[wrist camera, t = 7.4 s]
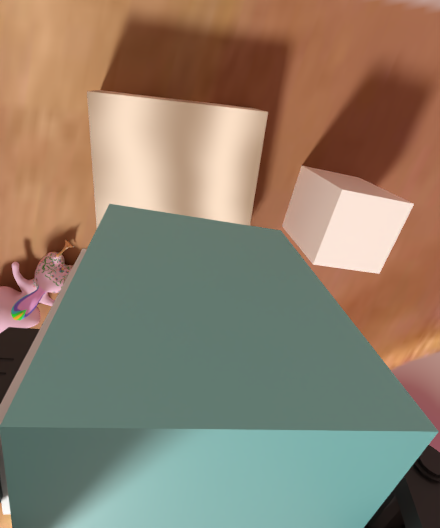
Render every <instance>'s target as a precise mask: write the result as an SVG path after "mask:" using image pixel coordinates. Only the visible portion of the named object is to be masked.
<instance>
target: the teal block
mask: <svg viewBox="0 0 440 528" xmlns="http://www.w3.org/2000/svg"><path fill="white" fill-rule="evenodd" d="M437 433H438V430H437V429H436V428H435V426H434V425H433V424H432V423H431V421H430V420H429V419H428V418H427V416H426V415H425V414H424V412H423V411H422V410H421V409H420V407H419V406H418V405H417V404H416V402H415V401H414V400H413V398H412V397H411V396H410V395H409V393H408V392H407V391H406V389H405V388H404V387H403V386H402V385H401V383H400V382H399V381H398V379H397V378H396V377H395V376H394V374H393V373H392V372H391V370H390V369H389V368H388V367H387V365H386V364H385V363H384V361H383V360H382V359H381V358H380V356H379V355H378V354H377V353H376V351H375V350H374V349H373V347H372V346H371V345H370V344H369V342H368V341H367V340H366V339H365V337H364V336H363V335H362V333H361V332H360V331H359V330H358V328H357V327H356V326H355V324H354V323H353V322H352V321H351V319H350V318H349V317H348V316H347V314H346V313H345V312H344V310H343V309H342V308H341V307H340V305H339V304H338V303H337V302H336V300H335V299H334V298H333V296H332V295H331V294H330V293H329V291H328V290H327V289H326V288H325V286H324V285H323V284H322V282H321V281H320V280H319V279H318V277H317V276H316V275H315V274H314V272H313V271H312V270H311V268H310V267H309V266H308V265H307V263H306V262H305V261H304V259H303V258H302V257H301V256H300V254H299V253H298V252H297V251H296V249H295V248H294V247H293V245H292V244H291V243H290V242H289V240H288V239H287V238H286V237H285V235H284V234H283V233H282V231H281V230H274V229H268V228H262V227H255V226H249V225H242V224H236V223H230V222H223V221H217V220H211V219H204V218H198V217H191V216H185V215H179V214H172V213H166V212H160V211H153V210H147V209H140V208H134V207H128V206H121V205H115V204H109V206H108V208H107V210H106V212H105V214H104V216H103V218H102V220H101V222H100V224H99V226H98V228H97V230H96V232H95V234H94V236H93V238H92V240H91V242H90V244H89V246H88V248H87V250H86V252H85V254H84V256H83V258H82V260H81V262H80V264H79V266H78V269H77V271H76V273H75V275H74V277H73V279H72V281H71V283H70V285H69V287H68V289H67V291H66V293H65V295H64V297H63V299H62V301H61V303H60V305H59V307H58V309H57V311H56V313H55V315H54V317H53V319H52V321H51V323H50V325H49V327H48V329H47V331H46V333H45V335H44V337H43V340H42V342H41V344H40V346H39V348H38V350H37V352H36V354H35V356H34V358H33V360H32V362H31V364H30V366H29V368H28V370H27V372H26V374H25V376H24V378H23V380H22V382H21V384H20V386H19V388H18V390H17V392H16V394H15V396H14V398H13V400H12V402H11V404H10V406H9V408H8V411H7V413H6V415H5V417H4V419H3V421H2V423H1V425H0V435H1V443H2V451H3V458H4V466H5V474H6V481H7V489H8V497H9V505H10V512H11V520H12V528H364V527H365V525H366V524H367V523H368V522H369V520H370V519H371V518H372V516H373V515H374V514H375V513H376V511H377V510H378V509H379V507H380V506H381V505H382V504H383V502H384V501H385V500H386V498H387V497H388V496H389V495H390V493H391V492H392V491H393V490H394V488H395V487H396V486H397V484H398V483H399V482H400V481H401V479H402V478H403V477H404V475H405V474H406V473H407V472H408V470H409V469H410V468H411V466H412V465H413V464H414V463H415V461H416V460H417V459H418V457H419V456H420V455H421V454H422V452H423V451H424V450H425V449H426V447H427V446H428V445H429V443H430V442H431V441H432V440H433V438H434V437H435V436H436V434H437Z"/></svg>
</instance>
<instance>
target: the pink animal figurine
mask: <svg viewBox="0 0 440 528" xmlns="http://www.w3.org/2000/svg"><path fill="white" fill-rule="evenodd" d="M66 240H67V239H66ZM66 240H65V246H64V248H63V249H62V251H61V252H59V253H58V252H50V253H48V254H47V255H45V256H44V257H43V258H42V259H41V261H40V262H39V264H38V266H37V268H36V271H35V278H34V279H31V280H27V279H25V278H24V277H23V276H22V275H21V274H20V272H19V263H18V262H13V263H12V271H13V275H14V278H15V280H16V282H17V284H18V286H19V287H20V289H21V291H22V292H18V291H17V290H15V289H13V288H11V287H7V286H0V333H1V332H3V331H4V330H6V329H7V328H8V327H16V328H29V327H32V326H35V325H37V324H38V323H39V322H40V311H39V309H38V307H37V305H38V303H42V304H46V305H49V306H52V305H53V303H54V302H55V300H53V299H51V298H50V297H49V296H48V292H51V293H58V292H60V290H61V288H62V286H63V285H64V283H65V281H66V279H67V277H68V275H69V273H70V271H71V269H72V267H73V266H74V265H66V264H65V263H64V257H63V255H62V253H63V252H64V251H65V250H66V249H68V248H69V247H70V248H71V247H74V246H72V245H71V244H70V243H69V242H70V241H69V242H67V241H66Z"/></svg>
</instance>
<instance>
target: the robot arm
mask: <svg viewBox="0 0 440 528" xmlns="http://www.w3.org/2000/svg"><path fill="white" fill-rule="evenodd" d="M86 250H87V249H82V250H81V252H80V254H79V256H78V258H77V260H76V262H75V264H74V266H73V267H72V269H71V271H70V273H69V275H68V277H67V279H66V281H65V283H64V285H63V286H62V288H61V290H60V292H59V294H58V296H57V298H56V300H55V302H54V303H53V305H52V307H51V309H50V311H49V313H48V315H47V317H46V319H45V321H44V322H43V324H42V326H41V328H40V329H30V328H16V327H8V328H7V329H6V330H4V331H3V332H1V333H0V425H1V423H2V421H3V419H4V417H5V415H6V413H7V411H8V408H9V406H10V404H11V402H12V400H13V398H14V396H15V394H16V392H17V390H18V388H19V386H20V384H21V382H22V380H23V378H24V376H25V374H26V372H27V370H28V368H29V366H30V364H31V362H32V360H33V358H34V356H35V354H36V352H37V350H38V348H39V346H40V344H41V342H42V340H43V337H44V335H45V333H46V331H47V329H48V327H49V325H50V323H51V321H52V319H53V317H54V315H55V313H56V311H57V309H58V307H59V305H60V303H61V301H62V299H63V297H64V295H65V293H66V291H67V289H68V287H69V285H70V283H71V281H72V279H73V277H74V275H75V273H76V271H77V269H78V266H79V264H80V262H81V260H82V258H83V256H84V254H85V252H86ZM0 503H2V510H3V514H11V512H10V505H9V497H8V489H7V481H6V474H5V466H4V458H3V451H2V443H1V435H0ZM364 528H440V452H438V451H437V450H435V449H434V448H433V447H431V446H429V445H428V446H427V447H426V449H425V450H424V451H423V452H422V454H421V455H420V456H419V457H418V459H417V460H416V461H415V463H414V464H413V465H412V466H411V468H410V469H409V470H408V472H407V473H406V474H405V475H404V477H403V478H402V479H401V481H400V482H399V483H398V484H397V486H396V487H395V488H394V490H393V491H392V492H391V493H390V495H389V496H388V497H387V498H386V500H385V501H384V502H383V504H382V505H381V506H380V507H379V509H378V510H377V511H376V513H375V514H374V515H373V516H372V518H371V519H370V520H369V522H368V523H367V524H366V525H365V527H364Z"/></svg>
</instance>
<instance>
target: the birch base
mask: <svg viewBox="0 0 440 528" xmlns="http://www.w3.org/2000/svg"><path fill="white" fill-rule="evenodd" d="M87 98H88V112H89V126H90V140H91V154H92V168H93V182H94V196H95V210H96V224H97V228H98V226H99V224H100V222H101V220H102V218H103V216H104V214H105V212H106V210H107V208H108V206H109V204H115V205H121V206H128V207H134V208H140V209H147V210H153V211H160V212H166V213H172V214H179V215H185V216H191V217H198V218H204V219H211V220H217V221H223V222H230V223H236V224H242V225H249V226H250V222H251V216H252V210H253V203H254V197H255V191H256V185H257V178H258V172H259V166H260V160H261V153H262V147H263V141H264V135H265V129H266V122H267V116H268V112H267V111H263V110H259V109H255V108H249V107H241V106H232V105H223V104H215V103H206V102H197V101H189V100H180V99H172V98H163V97H154V96H146V95H137V94H128V93H120V92H111V91H102V90H96V91H87Z"/></svg>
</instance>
